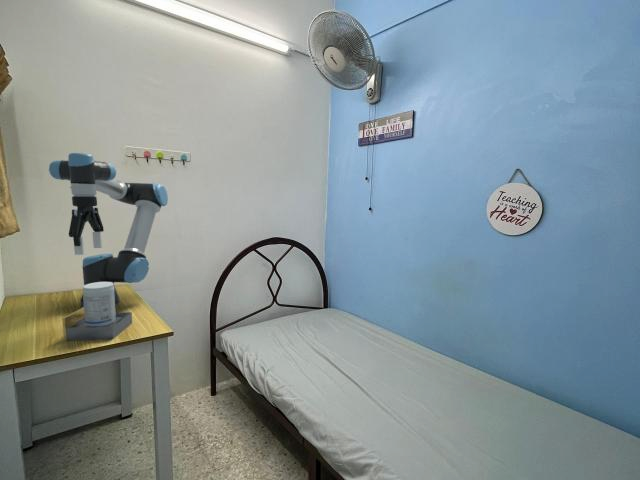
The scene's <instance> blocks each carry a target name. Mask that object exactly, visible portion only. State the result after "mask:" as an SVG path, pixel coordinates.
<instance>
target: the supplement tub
mask: <svg viewBox="0 0 640 480" xmlns="http://www.w3.org/2000/svg"><path fill="white" fill-rule="evenodd" d="M114 286H115V283H114V284H113V283H112V282H95V283H90V284H87V285H84V284H83V287H82V294H83V302H84V316H85V325H86V326H88V327H89V326H106V325H109V324H111V323H113V322H114V321H115V320H116V313H117V312H116V304H115V293H114Z"/></svg>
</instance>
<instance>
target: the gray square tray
mask: <svg viewBox="0 0 640 480" xmlns="http://www.w3.org/2000/svg"><path fill="white" fill-rule="evenodd" d="M132 324H133V313H132V312H131V311H130V312H129V311H128V312H116V320H115V321H114V322H113V323H111V324H109V325H106V326H89V327H88V326H86V325H85V316H84V307H83V308H82V307H80V308H79V309H77V310H75V311H74V312H72V313H70V314H68V315H66V316H64V317H63V318H62V331H63V332H62V334H63V341H65V342H67V341H92V340H93V341H97V340H98V341H99V340H114V339H115V338H116V337H118V336H119V335H120V334H122V332H124V331H125V330H127V328H128V327H129V326H131V325H132Z"/></svg>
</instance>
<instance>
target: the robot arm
mask: <svg viewBox="0 0 640 480" xmlns="http://www.w3.org/2000/svg"><path fill="white" fill-rule="evenodd" d="M67 157H68V160H64V159H60V160H54V161H53V160H52V161H51V162H50V164H49V167H48V171H49V175H51V177H52V178H53V179H55V180H60V181H65V180H66V181H70V187H69V188H70V190H71V194H72V195H73V196H72V197H71V201H72V202H71V203H72V206H73V207H76V209H72V210H71V219H70V225H69V231H68V236H69V238H72V239H73V247H74V248H73V249H74V256H75V255H76V256H77V255H78V256H79V255H80V256H81V255H85V247H84V237H83V236H82V234H83V232H84V229H85V225H86V223H88V224H89V225H90V228H91V229H92V244H93V248H94V249H102V248H103V244H102V233H103V232H104V225H103V223H102V220H101V215H100V214H99V208H98V207H97V206H98V199H97V196H96V195H97V192H99V193H103V194H105V195H108V196H109V197H110V198H111V199H113V200H116V201H118V202H121V203H124V204H127V205H132V206H135V208H136V212H135V214H134V218H133V220H132V224H131V227H130V229H129V233H128V235H127V238H126V241H125V245H124V248H123V249H121V250H120V251H119V252H118V255H117V256H116V257H115V256H114V255H113V253H102V254H96V255H91V256H86V257H84V258H83V260H82V265H81V267H82V278H83V286H84V285H87V284H90V283H95V282H112V283H113V284H114V293H115V305H116V304H118V303H119V302H120V295H119V293H118V291H117V289H116V287H115V283H123V284H124V283H125V284H133V283H140V282H141V281H143V280H145V278H146V277H147V275H148V273H149V269H150V266H149V265H150V262H149V260H148V259H147V255H145V251H146V249H147V248H146V247H147V244H148V242H149V241H148V240H149V237H150V234H151V230H152V227H153V224H154V221H155V217H156V214H157V213H160V211H161V208H162V207H165V206H166V205H168V201H169V200H168V199H169V197H168V193H167V192H168V191H167V189H166V187H165V186H164V185H163V184H162V183H154V182H153V183H143V182H142V183H141V182H140V183H139V182H123V181H121V180H114V179H115V178H116V176H117V169H116V167H115V166H114V165H113V164H112V163H110V162H106V161H97V160H94V156H93V154H90V153H84V152H71V153H69V154H68V156H67ZM79 306H80V308H83V307H84V302H83V293H82V295H81V298H80V303H79Z"/></svg>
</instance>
